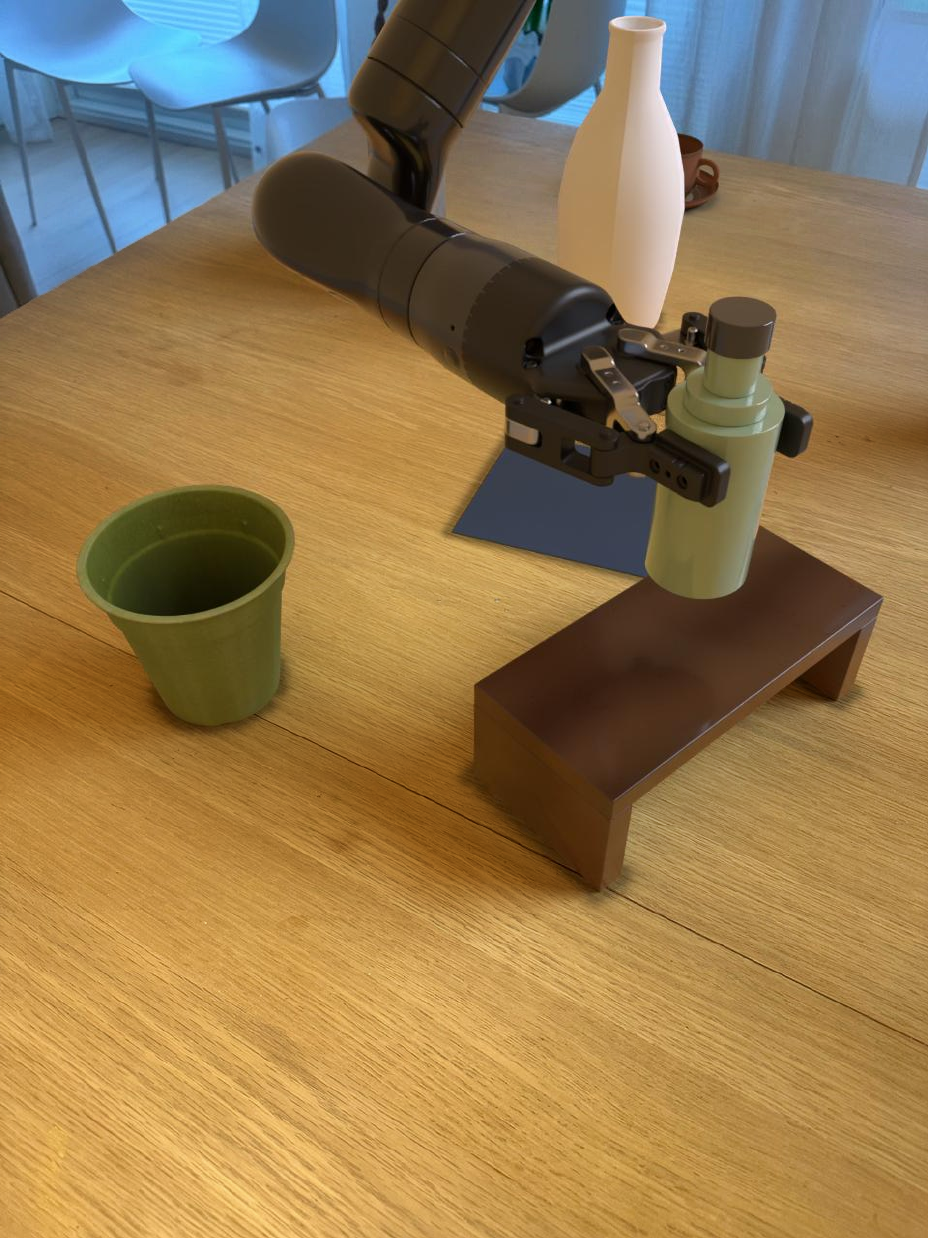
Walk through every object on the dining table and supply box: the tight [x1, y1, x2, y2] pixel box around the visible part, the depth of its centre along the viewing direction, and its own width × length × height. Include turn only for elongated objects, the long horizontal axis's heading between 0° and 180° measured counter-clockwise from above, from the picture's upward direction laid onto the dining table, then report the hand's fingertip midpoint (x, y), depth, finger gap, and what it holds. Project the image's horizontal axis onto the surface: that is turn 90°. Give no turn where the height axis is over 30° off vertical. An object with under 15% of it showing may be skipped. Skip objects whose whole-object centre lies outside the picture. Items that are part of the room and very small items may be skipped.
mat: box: [451, 443, 656, 579], centre depth 79 cm, size 16×14×1 cm
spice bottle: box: [645, 296, 785, 599], centre depth 49 cm, size 5×5×14 cm
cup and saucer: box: [677, 132, 720, 210], centre depth 120 cm, size 12×12×6 cm
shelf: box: [473, 524, 885, 893], centre depth 60 cm, size 10×22×8 cm, turn 130°
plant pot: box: [75, 484, 296, 727], centre depth 62 cm, size 12×12×11 cm
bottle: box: [556, 15, 686, 329], centre depth 92 cm, size 11×11×25 cm
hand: (764, 461), depth 47 cm, fingers closed on spice bottle, 5 cm apart
